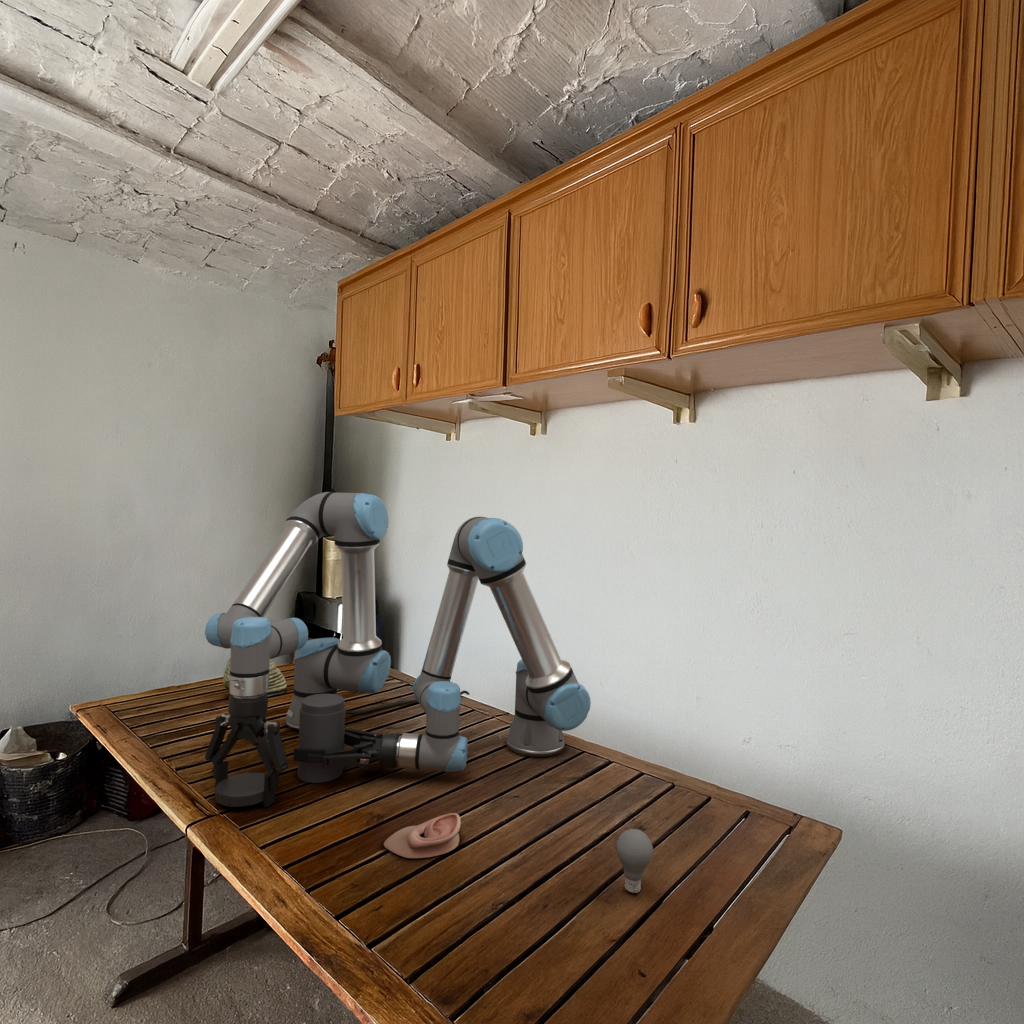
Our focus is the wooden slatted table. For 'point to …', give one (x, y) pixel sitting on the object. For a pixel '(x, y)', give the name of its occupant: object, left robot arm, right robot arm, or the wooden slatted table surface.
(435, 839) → the anatomical model
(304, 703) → the jar
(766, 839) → the wooden slatted table surface
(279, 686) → the fossil
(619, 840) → the light bulb
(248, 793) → the lid
